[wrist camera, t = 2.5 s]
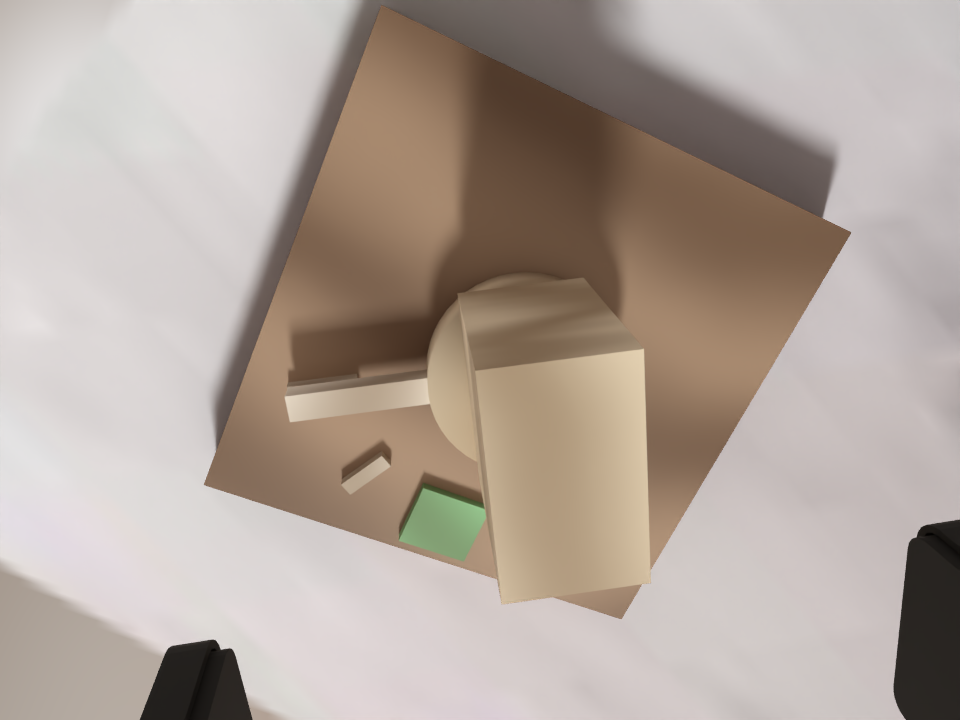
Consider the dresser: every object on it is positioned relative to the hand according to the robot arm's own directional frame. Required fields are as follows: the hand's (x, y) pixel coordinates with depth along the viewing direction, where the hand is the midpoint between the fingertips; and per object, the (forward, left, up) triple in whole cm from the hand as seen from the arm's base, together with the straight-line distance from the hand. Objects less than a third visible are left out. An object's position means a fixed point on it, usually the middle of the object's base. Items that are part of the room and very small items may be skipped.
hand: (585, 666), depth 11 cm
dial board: (-1, 0, -12) cm, 12 cm away
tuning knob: (0, -1, -11) cm, 11 cm away
